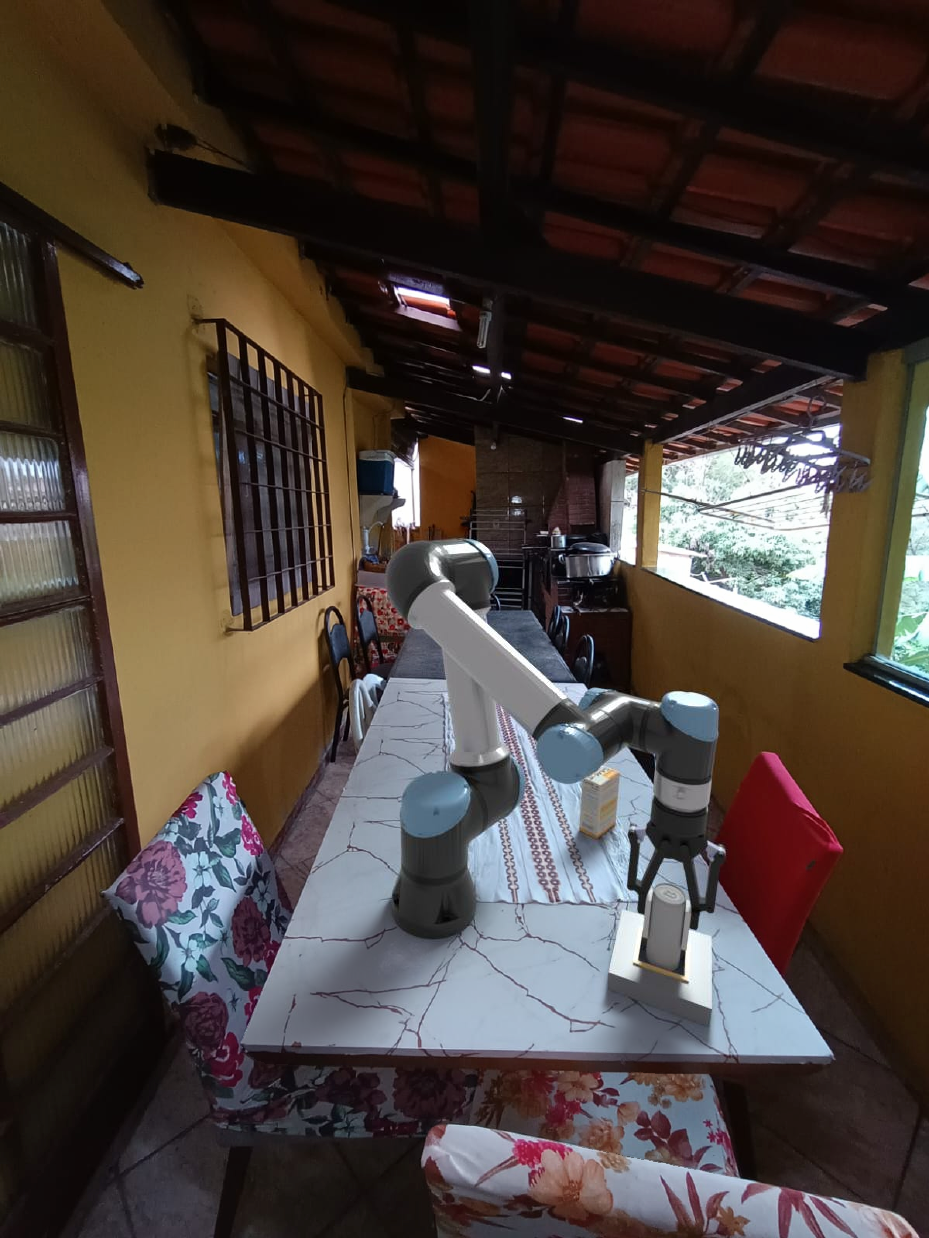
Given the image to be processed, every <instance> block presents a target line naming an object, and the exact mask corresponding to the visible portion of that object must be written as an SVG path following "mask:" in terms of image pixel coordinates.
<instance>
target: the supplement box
mask: <svg viewBox="0 0 929 1238" xmlns="http://www.w3.org/2000/svg"><path fill="white" fill-rule="evenodd" d="M620 774H621V772H620V771H619V770H615V769H613V768H610V767H608V766H606V765H604V764H603V765H602V766H601V767H600V768H599V770H598V771H597V772H594V773H593V774H591V775H590V776H587V777H586V778H584V779H583V780H581V796H580V812H579V826H578V830H579V831H580V832H583V833H584V834H586V835H588V836H590V837H593V838H594V839H599V838H600V837H602V835H604V834H605V833H606V832H607V831H609V830H610V829H611V828H613V827H614V826H615V825H616V822H617V810H618V802H619V801H618V800H619V799H618V798H619V788H620V787H619V786H620V776H621V775H620Z"/></svg>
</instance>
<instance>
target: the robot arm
mask: <svg viewBox="0 0 929 1238" xmlns="http://www.w3.org/2000/svg"><path fill="white" fill-rule="evenodd" d="M498 580H499V567H498V563H497V560H496V558H495V557H494V555H493V553H492V551H491V550H490V549H489V548H488V547H486V545H484V544H483V543H481V542H480V541H478V540H474V539H469V538H467V539H466V538H460V537H459V538H455V537H454V538H451V539H450V538H449V539H436V540H435V539H434V540H416V541H412V542H409V543H407V544H404V545H403V546H401V547H400V548H399V549H398V550H396V551H395V552H394V553H393V555H392V556H391V558H390V559H389V561H388V564H387V567H386V568H385V574H384V583H385V590H386V593H387V596H388V599H389V601H390V604H391V605H392V606H393V608H394V609H395V611H396V613H398V614H399V616H400V617H401V618H402V619H403V620H404V622H406V623H407V625H409V626H410V627H411V628H412V629H415V630H423V632H425V633H426V634H427V635H428V636H429V637H430V638H431V639H433V640H434V642H435V643H436V644H437V645H438V646H439V647H440V648H441V654H442V660H443V667H444V674H445V681H446V688H447V689H446V690H447V697H448V703H449V711H450V718H451V719H450V720H451V724H452V732H453V739H454V740H453V741H454V749H453V750H452V751H451V753H450V754H449V756H448V761H449V767H450V771H449V770H436V772H435V773H433V772H432V771H429V772H426V773H424V774H422V775H418V776H417V777H416V778H414V779H413V780H411V781H410V782H409V783H408V784H407V786H406V787H405V788H404V790H403V793H402V795H401V796H402V797H401V806H400V811H399V818H400V819H399V820H400V850H401V853H400V856H401V857H400V861H401V863H400V869H399V872H398V875H397V878H396V880H395V883H394V886H393V888H392V892H391V900H390V901H391V914H392V918H393V919H394V921H395V923H396V924H397V925H398V926H399V928H401V929H402V930H403V931H405V932H407V933H409V934H410V935H413V936H416V937H419V938H422V939H423V938H424V939H441V938H442V939H443V938H446V937H450V936H453V935H455V934H457V933H459V932H461V931H463V930H464V929H466V927H468V925H469V924H471V922H472V920H474V917H475V915H476V912H477V890H476V888H475V885H474V881H473V878H472V875H471V872H470V869H469V867H468V866H469V864H468V861H469V860H468V859H469V845H470V843H471V842H472V841H473V840H475V839H476V838H477V837H479V836H480V835H481V834H483V833H484V832H485V831H487V830H488V829H490V828H491V827H493V826H495V824H497V823H498V822H499V821H502V820H504V819H506V818H507V817H508V816H510V815H511V814H512V813H513V811H514V810H515V809H516V808H518V806H519V805H520V804H521V802H522V801H523V798H524V796H525V792H526V778H525V774H524V770H523V768H522V766H521V765H520V764H518V763H517V761H518V760H517V759H516V758H515V756H513V755H511V753H510V748H509V747H508V746H507V745H506V744H504V743H503V742H502V741H501V739H500V731H499V730H500V729H499V724H498V714H497V709H496V707H497V706H496V704H498V705H499V706H500V707H501V708H502V709H503V710H504V711H505V712H506V713H507V714H508V715H509V716H510V717H511V718H512V719H513V720H514V721H515V722H516V723H517V724H518V725H519V726H520V727H521V728H522V729H523V730H524V731H525V732H526V733H527V734H529V735H530V737H532V739H533V740H534V741H536V745H535V746H536V747H535V754H536V755H535V756H536V759H537V761H538V762H539V764H540V766H541V770H542V771H543V773H544V774H545V775H547V777H549V778H550V779H551V780H552V781H555V782H557V783H560V784H563V785H573V784H576V783H578V782H582V780H583V779H584V778H586V777H587V776H590V775H591V774H593V773H594V772H597V771H598V770H599V768H600V767H601V766H602V765H603V766H604V764H606V763H607V762H608V761H610V760H611V758H614V757H615V756H616V755H617V754H619V753H620V752H621V751H622V750H624V749H625V748H631V749H633V750H637V751H641V752H643V753H646V754H652V755H655V760H656V761H655V766H654V768H655V769H654V778H653V789H652V792H653V795H652V797H651V809H650V818H649V821H647V823H646V825H643V826H641V825H640V826H638V825H637V824H636V823H630V824H629V827H628V830H627V831H628V832H627V838H628V839H627V840H628V841H629V845H630V848H629V849H630V850H629V859H628V870H627V880H626V888H627V890H628V891H631V892H632V891H633V892H635V893H636V894H637V907H636V911H637V914H640V915H643V916H644V925H643V935H642V937H644V938H648V930H649V921H650V911H651V901H652V892H653V890H654V889H651V888H652V886H653V883H654V882H655V881H654V880H655V878H656V876H657V874H658V872H659V869H660V868H661V865H663V861H664V859H667V860H675V861H676V862H678V863H681V864H682V867H683V871H684V875H685V881H686V887H687V893H688V898H689V899H686V910H685V918H684V927H683V935H682V944H681V949H682V950H685V951H687V943H688V935H689V930H692V931H697V930H698V928H699V924H700V923H699V921H700V916H701V913H703V912H706V913H708V914H714V913H715V910H716V909H715V908H716V901H717V892H718V884H719V875H720V870H721V867H722V866H723V864H724V863H725V861H726V859H727V856H726V855H727V854H726V847H725V846H724V845H723V844H722V843H721V844H720V843H718V844H714V843H713V842H711V841H709V839H708V836H707V834H706V830H707V821H708V813H709V807H708V805H709V803H710V799H711V798H710V797H711V790H712V779H713V771H714V770H713V768H714V763H715V756H716V748H717V742H718V738H719V734H720V733H719V730H718V729H719V717H720V716H719V713H720V711H719V710H720V709H719V706H718V704H717V703H716V702H715V701H714V700H713V699H711V698H710V697H709V696H707V695H704V694H701V693H697V692H691V691H689V692H685V691H677V690H676V691H675V690H674V691H670V692H668V693H666V694H665V695H663V697H662V700H661V702H659V701H658V702H657V701H654V700H650V699H645V698H642V697H638V696H633V695H631V694H626V693H623V692H618V691H617V690H614V689H605V688H599V687H592V688H590V689H588V690H586V691H585V693H584V695H583V696H582V697H581V698H580V700H579V702H578V704H576V703H575V701H573V700H572V699H571V698H570V697H569V696H568V695H566V693H564V692H563V691H562V690H561V689H560V688H559V687H557V686H556V684H554V683H553V682H552V681H551V680H550V679H549V678H548V677H547V676H546V675H545V674H543V673H542V672H541V671H540V670H539V669H538V668H536V667H535V666H534V665H533V664H532V663H531V662H530V661H529V660H528V659H527V658H526V657H524V656H523V655H522V654H521V653H520V652H519V651H518V650H517V649H516V648H515V647H513V646H512V644H510V643H509V642H508V641H507V640H506V639H505V638H503V636H501V635H500V634H499V633H498V632H497V631H496V630H495V629H494V628H493V627H491V626H490V625H489V624H488V623H487V622H486V621H485V617H486V615H487V614H488V612H490V609H491V607H492V606H491V598H490V595H491V594H492V593H493V592H494V591H495V587H496V586H497V584H498ZM645 836H647V838H648V840H649V841H650V842H651V844H652V846H653V847H654V851H653V853H652V855H651V857H650V859H649V862H648V863H647V864H648V865H647V867H646V869H645V871H644V873H643V876H642V878H641V879H639V878H638V870H639V860H640V852H641V851H640V850H641V843H643V842H644V839H645ZM704 851H706V853H707V855H706V857H707V859H708V860H709V863H708V872H707V879H706V887H705V888H706V889H705V895H704V896H705V897H704V896H703V897H702V896H701V895H700V888H699V883H698V877H697V872H696V867H695V861H694V859H695V858H696V857H697V856H699V855H700V854H701V853H703V852H704Z"/></svg>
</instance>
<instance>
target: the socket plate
mask: <svg viewBox="0 0 929 1238" xmlns="http://www.w3.org/2000/svg"><path fill="white" fill-rule="evenodd" d="M643 925H644V915H643V914H639V913H638V912H633V911H630V910H628V909H627V910H626V909H623V908H622V909H621V912H620V918H619V922H618V927H617V930H616V931H617V932H616V937H615V941H614V946H613V950H612V955H611V960H610V963H609V968H608V974H607V976H608V977H607V986H606V990H609V991H611V992H614V993H617V994H619V995H622V996H624V997H627V998H630V999H633V1000H637V1001H639V1002H641V1003H644V1004H645V1005H649V1006H652V1007H655V1008H658V1009H661V1010H662V1011H665V1012H668V1013H671V1014H673V1015H676V1016H678V1017H679V1016H680V1017H682V1018H684V1019H688V1020H690V1021H693V1022H695V1023H698V1024H701V1025H703V1026H706V1027H709V1028H710V1027H711V1019H712V1012H713V960H712V959H713V957H712V956H713V950H712V949H713V947H712V946H713V945H712V941H713V940H712V939H713V938H712V937H713V936H712V935H708V934H705V933H702V932H698V931H696V930H693V929H689V935H688V943H687V951H685V950H682V949H681V952H680V960H679V961H682V962H683V970H682V971H683V973H682V974H683V975H681V974H678V973H676V972H672V971H667V970H664V969H661V968H658V967H655V966H653V965H652V964H651V963H650V964H648V963H646V962H643V961H640V959H639V958H640V955H641V948H642V949H645V950H646V949H647V939H648V938H644V937H642V935H643Z"/></svg>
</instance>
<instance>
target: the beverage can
mask: <svg viewBox="0 0 929 1238" xmlns="http://www.w3.org/2000/svg"><path fill="white" fill-rule="evenodd" d="M652 890H653V892H652V901H651V911H650V921H649V930H648V939H647V949H645V950H646V951H645V954H646V958H647V960H648V962H649V963H650V965H652V966H655V967H658V968H661V969H664V970H667V971H670V972H672V971H674V970H676V969H677V968H678V967H679V965H680V961H681V960H680V952H681V944H682V935H683V927H684V918H685V910H686V900H687V895H686V893H685V892H684V891H683V889H682V888H680V887H678V886H677V885H675V884H672V883H668V882H661V883H657V884H656V885H655V886H654V887H653V889H652Z"/></svg>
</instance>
